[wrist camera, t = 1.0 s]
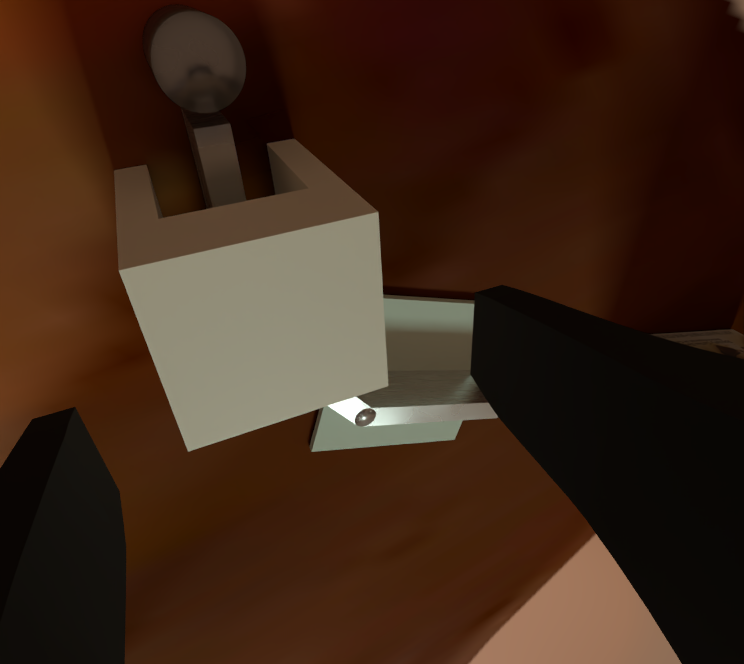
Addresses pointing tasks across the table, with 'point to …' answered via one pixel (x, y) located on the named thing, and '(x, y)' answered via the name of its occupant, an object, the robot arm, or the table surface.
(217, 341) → the u block
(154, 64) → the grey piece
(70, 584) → the robot arm
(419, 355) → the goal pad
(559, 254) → the table surface
